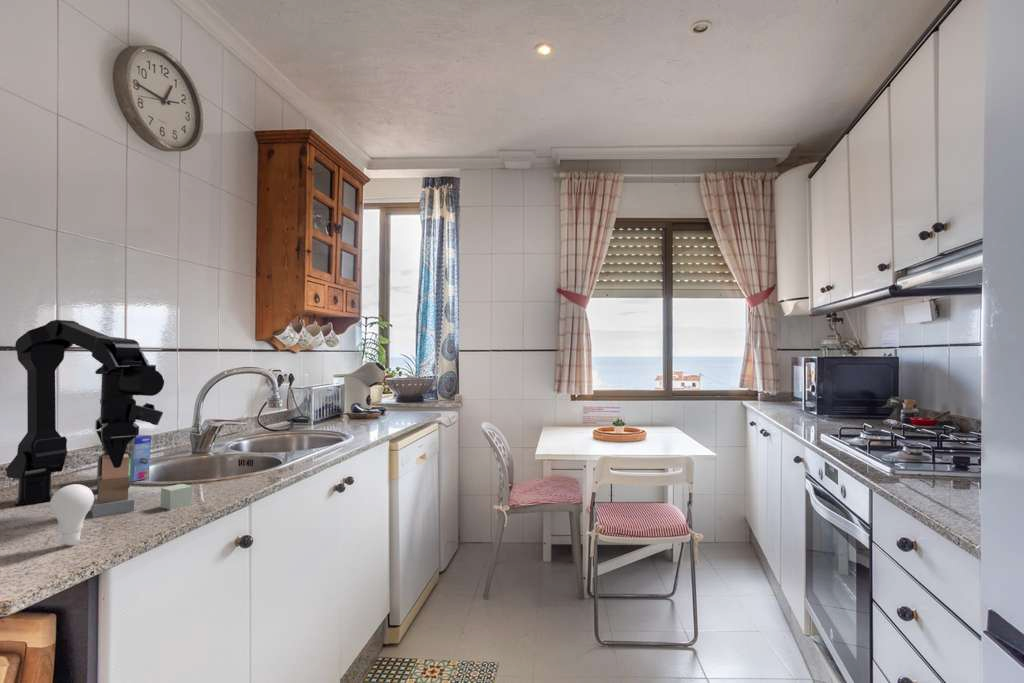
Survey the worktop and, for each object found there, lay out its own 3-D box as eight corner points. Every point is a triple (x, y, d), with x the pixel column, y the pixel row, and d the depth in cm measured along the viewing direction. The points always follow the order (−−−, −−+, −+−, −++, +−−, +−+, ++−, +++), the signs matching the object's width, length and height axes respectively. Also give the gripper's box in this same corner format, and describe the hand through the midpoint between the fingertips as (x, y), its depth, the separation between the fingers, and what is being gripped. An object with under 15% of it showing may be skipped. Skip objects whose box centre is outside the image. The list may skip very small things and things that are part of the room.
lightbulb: (66, 539, 96) (68, 480, 96) (100, 539, 96) (102, 480, 97) (38, 552, 90) (41, 489, 90) (75, 551, 90) (78, 488, 90)
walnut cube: (97, 498, 114) (98, 476, 114) (125, 495, 117) (126, 473, 117) (99, 503, 110) (99, 480, 110) (127, 499, 114) (128, 477, 114)
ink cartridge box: (151, 478, 144) (152, 426, 145) (132, 482, 139) (134, 429, 139) (122, 476, 146) (123, 425, 147) (103, 480, 141) (105, 428, 141)
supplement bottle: (136, 487, 134) (137, 441, 134) (106, 494, 127) (108, 445, 128) (120, 484, 136) (121, 439, 137) (90, 490, 130) (92, 443, 131)
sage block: (160, 507, 117) (161, 487, 117) (181, 502, 121) (182, 483, 121) (170, 510, 114) (170, 490, 115) (191, 505, 118) (192, 486, 118)
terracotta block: (101, 476, 114) (102, 455, 115) (126, 473, 117) (127, 453, 117) (102, 479, 111) (103, 459, 111) (128, 477, 114) (129, 456, 114)
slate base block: (90, 512, 114) (91, 498, 114) (129, 506, 119) (130, 493, 119) (93, 520, 109) (93, 505, 109) (133, 513, 113) (134, 499, 114)
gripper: (167, 395, 113) (165, 466, 113) (153, 391, 127) (151, 454, 126) (103, 397, 106) (101, 473, 105) (96, 392, 119) (93, 459, 119)
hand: (115, 464), depth 114 cm, fingers open, 8 cm apart
